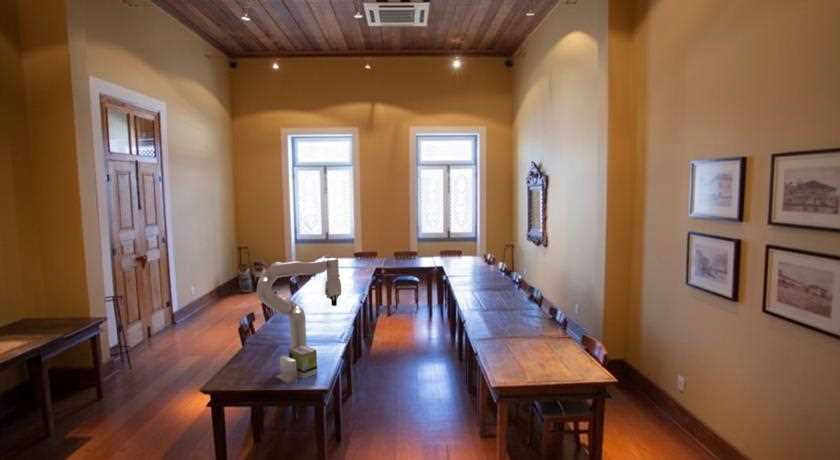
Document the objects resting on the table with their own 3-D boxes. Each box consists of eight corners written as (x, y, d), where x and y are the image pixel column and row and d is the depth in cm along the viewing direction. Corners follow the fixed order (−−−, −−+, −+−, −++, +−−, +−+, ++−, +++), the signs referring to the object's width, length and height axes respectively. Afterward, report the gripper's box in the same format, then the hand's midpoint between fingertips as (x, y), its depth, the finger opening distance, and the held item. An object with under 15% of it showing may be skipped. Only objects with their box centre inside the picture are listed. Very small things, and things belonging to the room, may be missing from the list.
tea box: (318, 374, 269) (316, 349, 267) (303, 379, 262) (301, 354, 260) (304, 367, 279) (302, 343, 277) (289, 372, 272) (287, 348, 270)
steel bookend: (276, 378, 264) (275, 358, 262) (285, 375, 268) (284, 355, 267) (287, 384, 256) (286, 363, 255) (297, 380, 260) (296, 360, 259)
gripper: (338, 274, 302) (339, 302, 304) (319, 279, 291) (321, 307, 293) (345, 276, 297) (347, 304, 299) (327, 280, 286) (328, 309, 288)
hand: (334, 305), depth 296 cm, fingers closed
